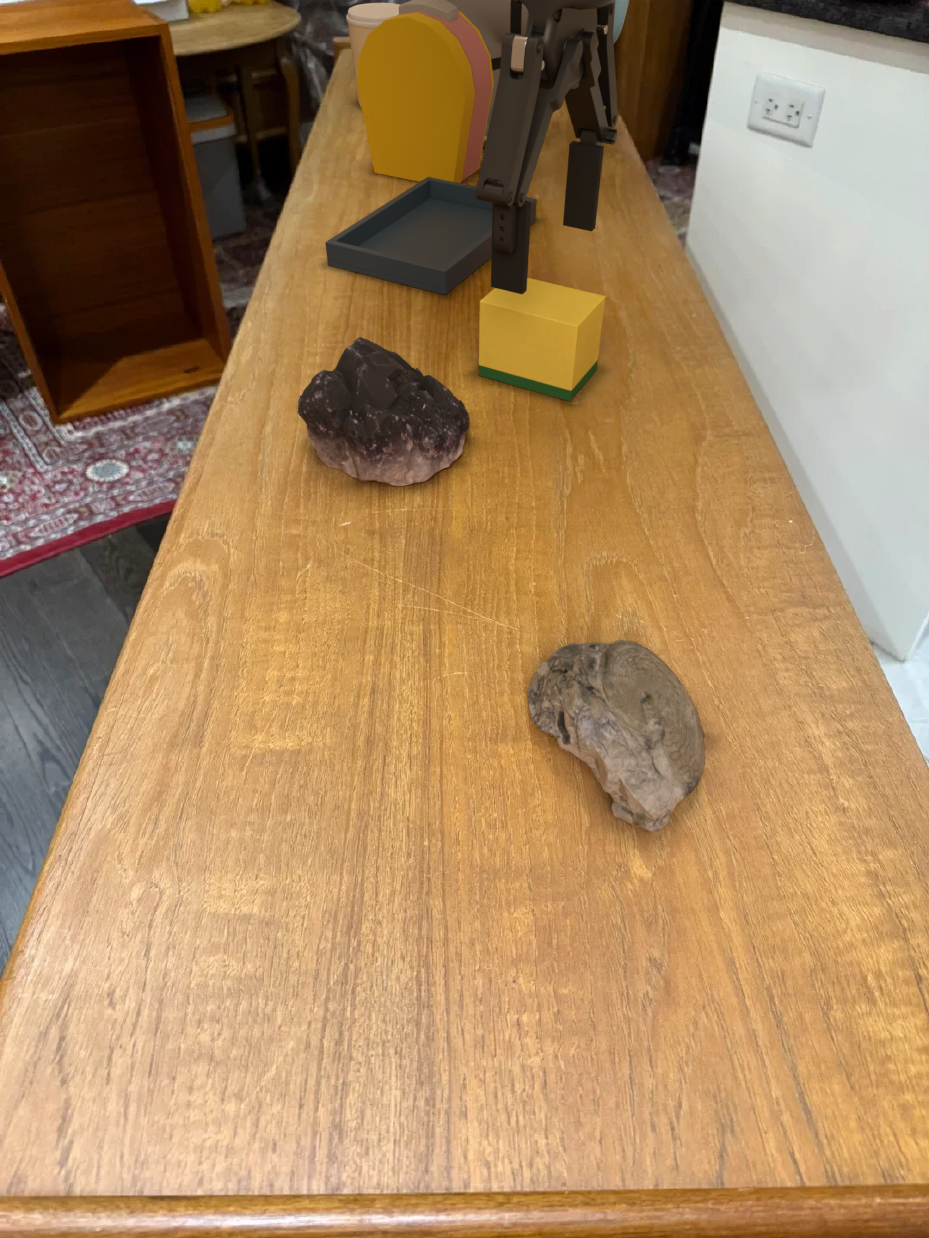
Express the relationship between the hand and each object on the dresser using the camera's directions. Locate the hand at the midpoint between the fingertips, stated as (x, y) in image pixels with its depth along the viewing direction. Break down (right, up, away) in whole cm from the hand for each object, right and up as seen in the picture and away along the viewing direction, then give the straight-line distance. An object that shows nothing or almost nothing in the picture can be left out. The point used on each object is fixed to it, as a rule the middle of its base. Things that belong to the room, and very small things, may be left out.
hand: (545, 256), depth 71 cm
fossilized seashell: (+2, -37, -20) cm, 42 cm away
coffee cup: (-19, +49, +63) cm, 82 cm away
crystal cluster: (-13, -15, 0) cm, 20 cm away
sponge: (0, -7, +8) cm, 11 cm away
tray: (-10, +13, +27) cm, 32 cm away
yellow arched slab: (-11, +29, +43) cm, 53 cm away
